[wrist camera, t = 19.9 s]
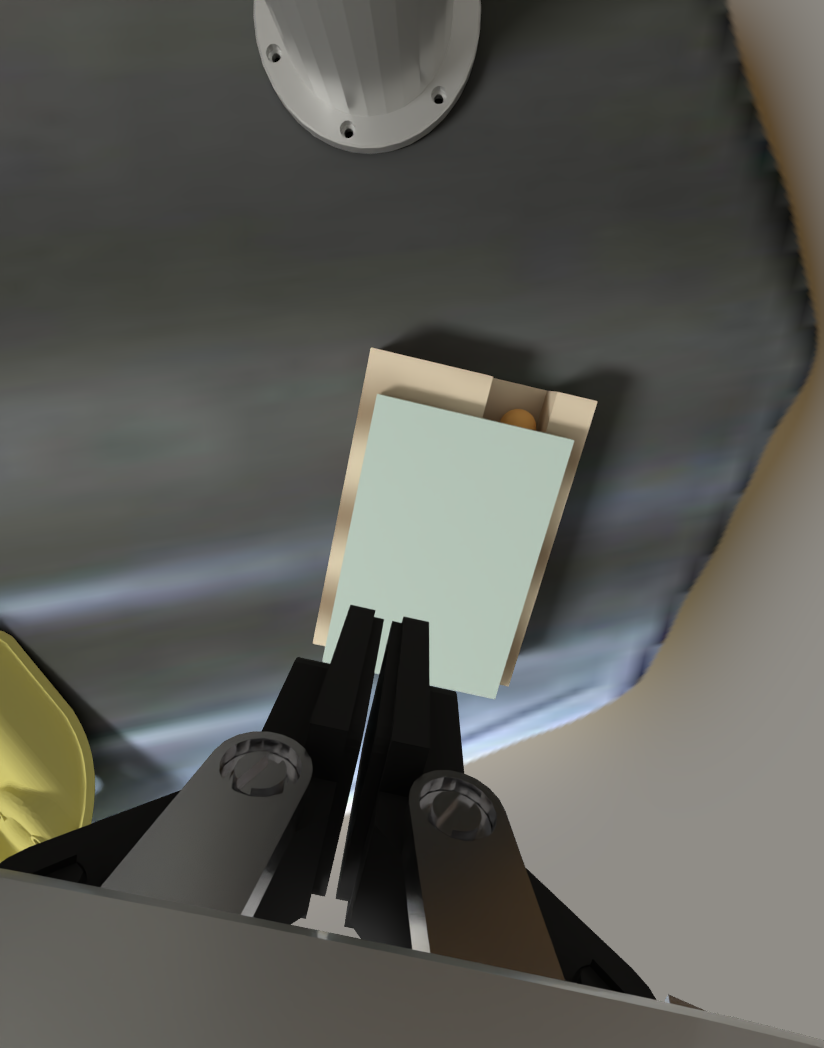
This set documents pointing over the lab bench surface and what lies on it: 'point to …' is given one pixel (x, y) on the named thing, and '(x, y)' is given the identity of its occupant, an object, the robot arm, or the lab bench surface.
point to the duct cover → (449, 534)
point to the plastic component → (39, 757)
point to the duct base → (465, 397)
